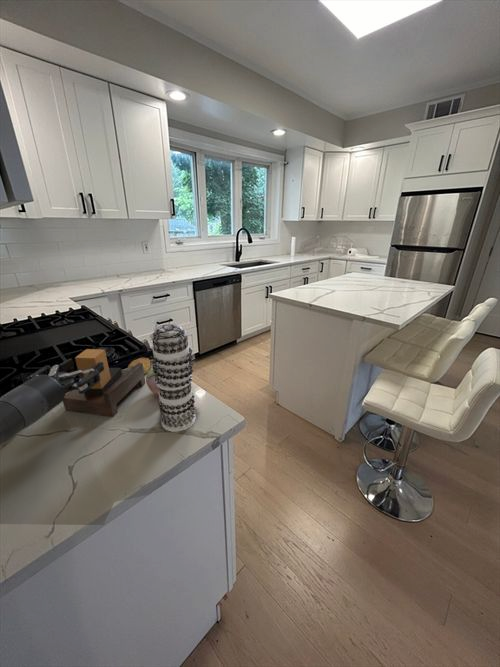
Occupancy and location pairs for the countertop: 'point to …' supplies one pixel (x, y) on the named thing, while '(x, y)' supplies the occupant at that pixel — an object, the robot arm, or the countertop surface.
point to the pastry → (144, 361)
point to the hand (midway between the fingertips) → (87, 363)
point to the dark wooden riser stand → (106, 394)
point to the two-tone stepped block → (106, 376)
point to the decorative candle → (173, 377)
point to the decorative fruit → (152, 382)
